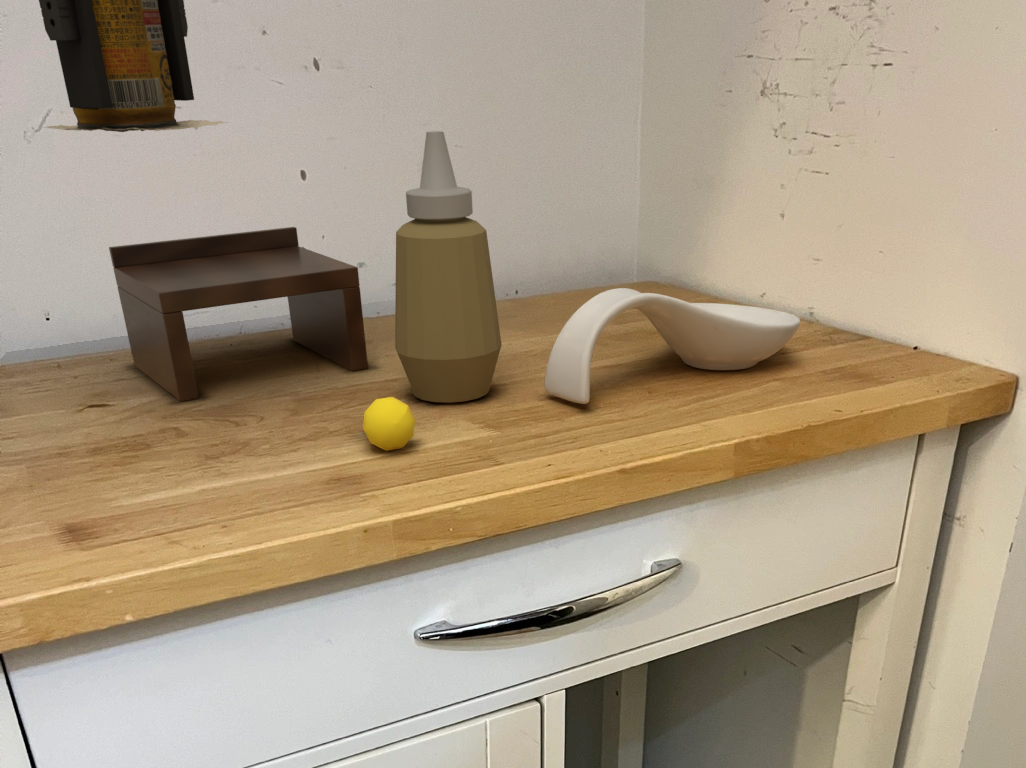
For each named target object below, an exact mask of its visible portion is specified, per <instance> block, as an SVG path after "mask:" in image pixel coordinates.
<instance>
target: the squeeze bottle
mask: <svg viewBox="0 0 1026 768" xmlns="http://www.w3.org/2000/svg"><path fill="white" fill-rule="evenodd" d="M421 167H422V168H421V173H420V182H419V187H416V188H412V189H409V190H406V192H405V199H406V200H405V201H406V214H407V216H408V217H409V218H411V219H412V220H410V221H408V222H406V223H404V224H402V225H401V226H400V227H399V229H397V230H396V231H395V304H394V305H395V311H394V312H395V314H394V315H395V318H394V319H395V321H394V322H395V323H394V324H395V325H394V328H395V329H394V334H395V335H394V348H395V350H396V354H397V356H398V358H399V361H400V363H401V365H402V366H401V367H402V368H403V370H404V374H405V376H406V378H407V380H408V383H409V385H410V388H411V390H412V394H413V395H414V397H416V398H418V399H419V400H422V401H426V402H433V403H446V404H447V403H450V404H451V403H461V402H462V403H463V402H468V401H472V400H476V399H477V400H478V399H479V398H483V397H484V396H486V395H487V394H488V393H489V392H490V389H491V386H492V381H493V378H494V374H495V370H496V366H497V363H498V359H499V357H500V353H501V348H502V336H501V330H500V323H499V313H498V308H497V301H496V294H495V293H496V292H495V286H494V285H495V284H494V277H493V271H492V261H491V255H490V248H489V247H490V246H489V240H488V233H487V232H488V231H487V229H486V228H485V227H484V226H483V225H481V224H480V222H478V220H476V219H475V220H474V219H472V218H469V217H470V216H471V215H472V214H473V213H474V211H473V192H472V190H471V189H470V188H469V187H463V186H458V185H457V180H456V176H455V172H454V169H453V165H452V160H451V156H450V151H449V148H448V145H447V141H446V136H445V132H444V131H443V130H433V131H431V130H430V131H426V133H425V141H424V149H423V158H422V166H421Z"/></svg>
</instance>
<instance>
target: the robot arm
mask: <svg viewBox="0 0 1026 768" xmlns="http://www.w3.org/2000/svg"><path fill="white" fill-rule="evenodd" d="M38 4H39V6H40V9H41V16H42V22H43V26H44V30H45V32H46V34H47V37H48V38H49V40H50V41H55V43H56V48H57V52H58V58H59V62H60V66H61V71H62V75H63V80H64V85H65V89H66V93H67V94H66V95H67V99H68V103H69V108H72V107H75V108H112V107H113V105H112V100H111V95H110V90H109V85H108V80H107V75H106V70H105V65H104V60H103V55H102V50H101V44H100V39H99V34H98V29H97V24H96V19H95V14H94V9H93V4H92V0H38ZM158 8H159V14H160V18H161V26H162V31H163V37H164V42H165V50H166V54H167V61H168V65H169V72H170V77H171V81H172V91H173V95H174V101H178V102H179V101H188V102H189V101H194V100H195V96H194V90H193V89H194V88H193V81H192V78H191V70H190V65H189V58H188V53H187V52H188V51H187V45H186V40H185V38H187V37H188V31H189V30H188V29H189V26H188V20H187V16H186V14H187V13H186V8H185V0H158Z"/></svg>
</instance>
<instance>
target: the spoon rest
mask: <svg viewBox="0 0 1026 768" xmlns="http://www.w3.org/2000/svg"><path fill="white" fill-rule="evenodd" d="M631 310H638V311H640V312H641V313H642V314H643V315H644V316H645V317H646V318H647V319H648V320H649V321H650V323H651V325H653V327H654V328H655V330H656V331H657V332H658V334H659V335H660V336H661V337H662V339H663V340H664V342H665V343H666V344H667V345H668V347H669V348H670V349H671V350H672V351H673V352H674V353H676V354H677V356H679V357H680V358H681V361H682V362H683V363H684V364H685V365H687V366H690V367H692V368H697V369H701V370H708V371H738V370H746V369H749V368H752V367H754V366H755V365H757V364H758V363H759V362H761V361H764V360H766V359H768V358H770V357H772V356H773V355H775V354H776V353H778V352H779V351H780V350H782V349H783V348H784V347H785V346H786V345H787V344H788V343H789V341H790V340H792V338H793V337H794V335H796V333H797V332H798V330H799V327H800V326H801V319H800V317H799V316H797V315H796V314H792V313H789V312H787V311H781V310H775V309H770V308H765V307H759V306H751V305H750V306H749V305H743V304H742V305H741V304H729V303H716V302H715V303H714V302H689V301H685V300H683V299H679V298H676V297H672V296H669V295H664V294H661V293H654V292H653V293H652V292H640V291H638V290H636V289H632V288H627V287H626V288H625V287H618V288H612V289H607V290H604V291H602V292H600V293H597V294H596V295H595V296H593V297H591V298H590V299H589V300H587V301H586V302H584V304H582V305H580V307H579V308H578V309H577V310H576V311H575V312H574V313H573V314H572V315H571V316H570V317H569V318H568V320H567V321H566V323H565V324H564V326H563V327H562V329H561V331H560V332H559V334H558V336H557V338H556V339H555V342H554V343H553V347H552V349H551V351H550V354H549V358H548V360H547V364H546V369H545V374H544V386H543V387H544V391H545V393H547V394H548V395H551V396H553V397H557V398H560V399H563V400H566V401H569V402H572V403H575V404H580V405H586V404H589V402H590V397H591V396H590V395H591V394H590V393H591V369H592V368H591V366H592V359H593V354H594V350H595V347H596V345H597V342H598V340H599V338H600V336H601V334H602V333H603V331H604V330H605V329H606V328H607V327H608V325H610V324H611V322H613V321H614V320H615V319H616V318H618V317H619V316H621V315H623V314H625V313H626V312H628V311H631Z"/></svg>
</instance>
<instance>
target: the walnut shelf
mask: <svg viewBox="0 0 1026 768" xmlns="http://www.w3.org/2000/svg"><path fill="white" fill-rule="evenodd" d="M298 236H299V235H298V229H297V227H296V226H288V227H280V228H269V229H262V230H261V229H260V230H252V231H244V232H243V231H242V232H233V233H225V234H217V235H216V234H215V235H207V236H198V237H188V238H178V239H170V240H163V241H152V242H143V243H134V244H125V245H116V246H115V245H114V246H109V247H108V251H109V255H110V259H111V260H110V261H111V264H112V268H113V273H114V278H115V281H116V286H117V291H118V295H119V300H120V305H121V309H122V315H123V320H124V323H125V328H126V333H127V337H128V343H129V346H130V347H129V348H130V352H131V356H132V360H133V365H134V367H135V368H137V369H138V370H140V371H141V372H142V373H143V374H145V375H146V376H147V377H149V378H150V379H151V380H152V381H154V382H155V383H157V385H159V387H161V388H163V389H164V390H165V391H167V392H168V393H169V394H170V395H172V396H173V397H174V398H176V399H177V400H178V401H179V402H185V401H190V400H196V399H199V398H200V397H199V392H198V386H197V381H196V380H197V379H196V376H195V375H196V374H195V370H194V366H193V359H192V354H191V349H190V343H189V338H188V334H187V328H186V323H185V322H186V321H185V317H184V312H187V311H194V310H201V309H208V308H216V307H223V306H230V305H238V304H244V303H245V304H246V303H251V302H259V301H267V300H273V299H279V298H280V299H281V298H287V301H288V303H287V304H288V310H289V317H290V325H291V331H292V332H291V334H292V339H293V341H294V342H295V343H298V344H299V345H301V346H304V347H306V348H307V349H309V350H310V351H313V352H315V353H317V354H319V355H321V356H323V357H325V358H326V359H329V360H330V361H331V362H334V363H336V364H338V365H340V366H341V367H344V368H345V369H348V370H349V371H352V372H354V371H355V372H356V371H360V370H365V369H366V370H367V369H369V364H368V354H367V344H366V335H365V334H366V333H365V325H364V315H363V306H362V295H361V287H360V276H359V268H358V266H355V265H352V264H350V263H346V262H344V261H341V260H339V259H335V258H333V257H331V256H328V255H325V254H322V253H319V252H316V251H312V250H310V249H308V248H305V247H301V246H299V245H300V244H299V237H298Z"/></svg>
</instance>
